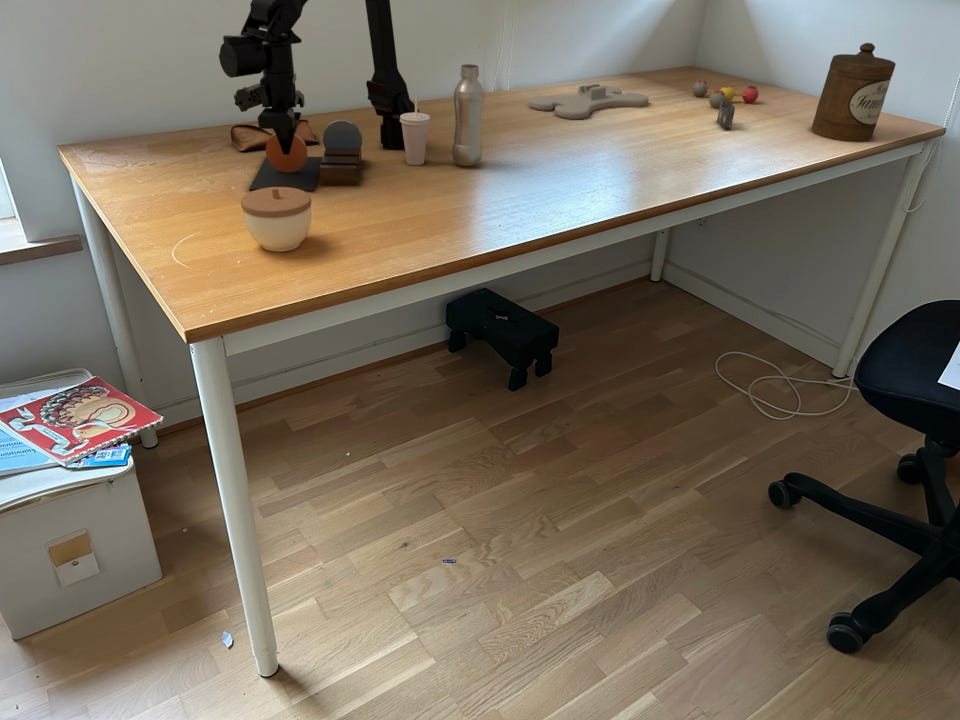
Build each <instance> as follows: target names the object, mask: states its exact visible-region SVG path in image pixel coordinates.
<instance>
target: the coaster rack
mask: <svg viewBox="0 0 960 720" xmlns="http://www.w3.org/2000/svg"><path fill="white" fill-rule="evenodd" d="M322 157H323V158H322V161H321V165H320V168H319V169H320V172H319V180H320V186H348V187H349V186H350V187H351V186H353V187H354V186H355V187H356V186H358V182H359V176H360V171H361V165H362V160H363V159H362V148H361V149H348V148H326V149H325V148H324V152H323V156H322Z"/></svg>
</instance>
